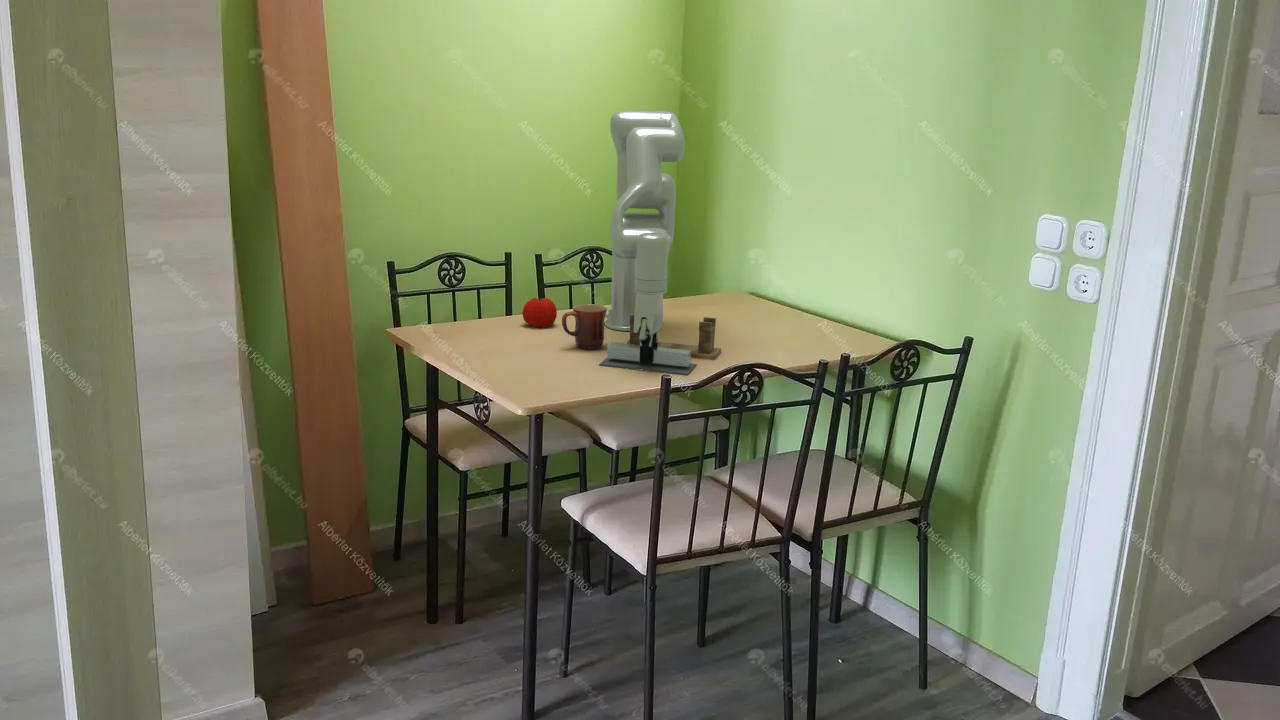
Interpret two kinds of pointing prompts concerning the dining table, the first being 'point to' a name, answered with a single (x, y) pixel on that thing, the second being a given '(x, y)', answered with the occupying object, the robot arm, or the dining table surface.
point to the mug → (587, 325)
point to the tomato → (539, 312)
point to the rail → (659, 354)
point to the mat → (648, 366)
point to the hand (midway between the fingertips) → (648, 359)
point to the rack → (701, 351)
